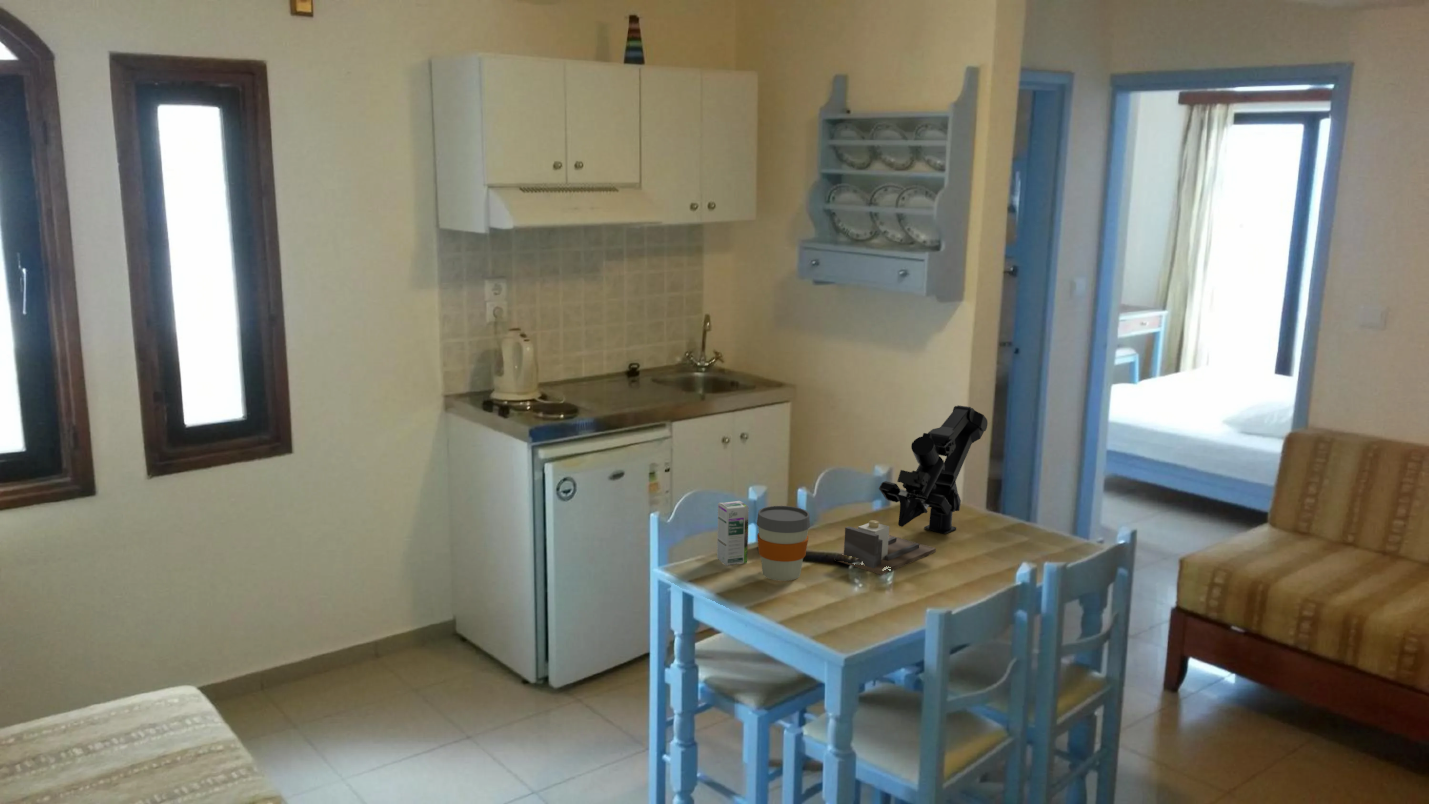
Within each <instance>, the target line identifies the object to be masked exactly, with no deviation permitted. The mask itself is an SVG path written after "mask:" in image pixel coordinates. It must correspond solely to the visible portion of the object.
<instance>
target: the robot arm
mask: <svg viewBox="0 0 1429 804" xmlns="http://www.w3.org/2000/svg"><path fill="white" fill-rule="evenodd" d="M988 424H989V423H988V419H987V418H986V416H985V415H984V414H982V413H980V412H979V411H977V410H975V409H974V408H973V407H971V406H964V405H958V404H957V405H954V407H953V409H952V412H951V413H950V415H949V416H948V417H947V418H946V419H945V421H944V422H943V423H942V424H941V425H940V426H939V427H936V428H932V429H930V431H928V432H926V433H925V432H924V433H923V434H922V436H919V437H917V438H916V439H914V440H913V441H912V442H911V448H910V449H911V451H912V453H913V456H914V458H915V460H916V462H917V464H918V466H917V468H916V470H912V471H908V470H904V469H900V471H899V474H898V477H897V483H901V484H902V487H903V489H901V488H900V487H899V486H898V484H897V483H894V482H890V481H887V480H885V481H883V482H881V483H880V486H879V487H878V490H879V491H880V493H881V494H882V496H883V497H884V498H885V500H887V501H890V502H893V503H899V514H898V523H897V524H898V526H899V527H900V528H903V527H904V526H906V525H907V524H908V523H910V522H911V521H913V520H914V519H916V518H918V517H919V516H920V515H922V514H927V513H928V508H930V512H929V520H928V522H929V524H928V525H925V526H924V528H923V529H924V530H928V531H931V532H936V533H938V534H942V535H946V534H948V533H951V532H954V531H956V530H957V527H956V526H953V525H952V523H953V513H954V512H958V511H960V510H961V508H960V507H961V502H962V500H961V497H960V495H959V492H958V491H959V490H958V487H957V483H956V482H957V479H958V476H959V474H960V472H961V470H962V467H963V464H964V462H965V460H966V458H967V456H968V454H969V450H970V449H971V446H972V445H973V443H975V442H977V441H978V440H980V439H981V438H982V436H983V434H984V432H986V430H987V428H988ZM942 457H945V460H944V459H943V458H942Z"/></svg>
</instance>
